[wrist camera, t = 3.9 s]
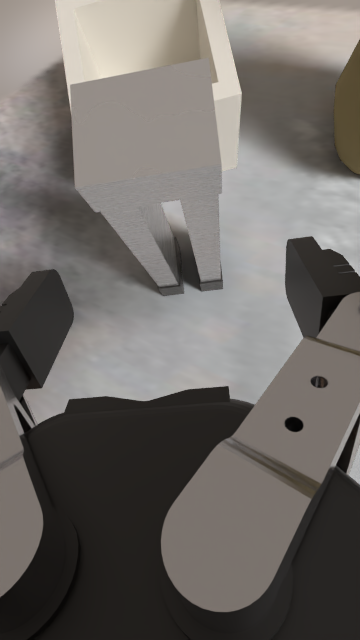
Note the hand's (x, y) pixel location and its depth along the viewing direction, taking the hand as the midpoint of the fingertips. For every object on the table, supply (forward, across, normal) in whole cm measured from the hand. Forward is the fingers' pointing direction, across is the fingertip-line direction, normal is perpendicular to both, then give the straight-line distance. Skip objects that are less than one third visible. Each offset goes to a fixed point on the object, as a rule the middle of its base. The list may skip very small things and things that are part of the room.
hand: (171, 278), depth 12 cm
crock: (+18, +1, -3) cm, 18 cm away
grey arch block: (+10, 0, +5) cm, 11 cm away
